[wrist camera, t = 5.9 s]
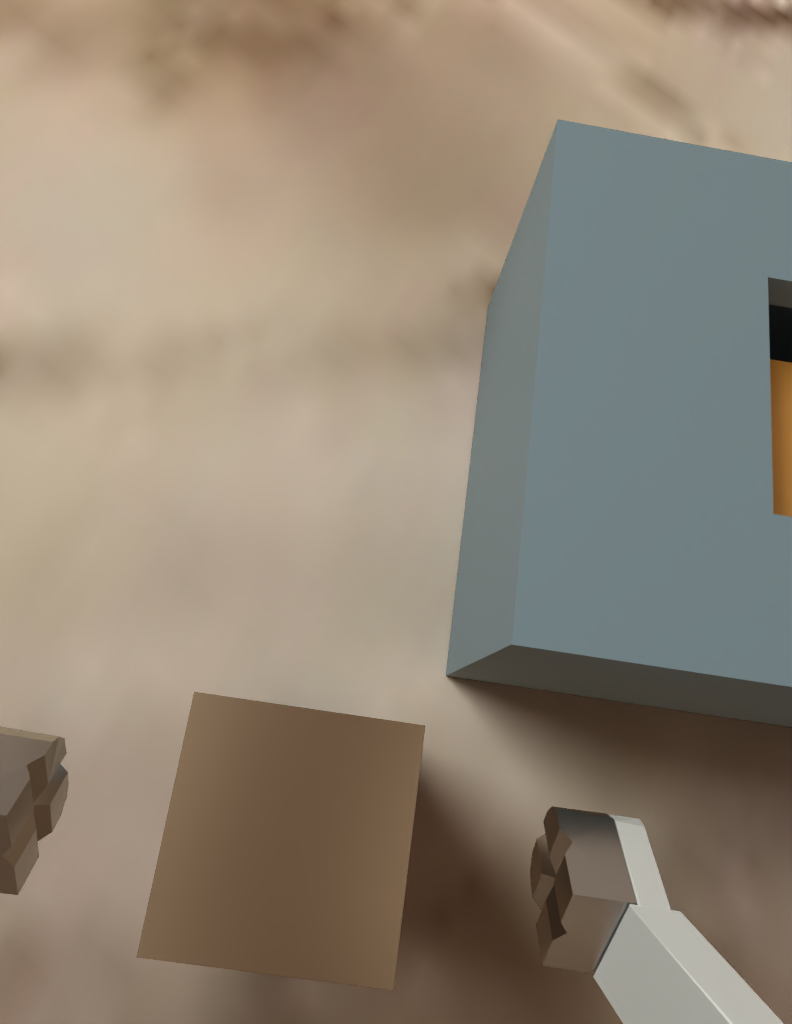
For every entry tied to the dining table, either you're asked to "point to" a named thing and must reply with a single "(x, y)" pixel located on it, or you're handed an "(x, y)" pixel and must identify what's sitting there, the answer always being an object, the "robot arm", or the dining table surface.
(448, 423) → the dining table surface
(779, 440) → the button
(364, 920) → the upright wooden post
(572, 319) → the box
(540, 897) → the robot arm
